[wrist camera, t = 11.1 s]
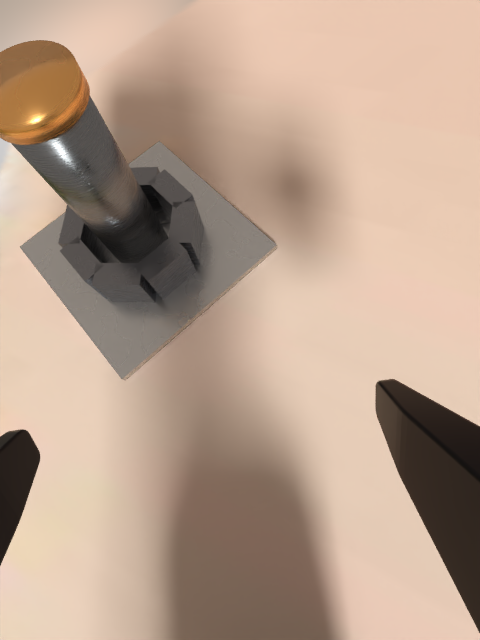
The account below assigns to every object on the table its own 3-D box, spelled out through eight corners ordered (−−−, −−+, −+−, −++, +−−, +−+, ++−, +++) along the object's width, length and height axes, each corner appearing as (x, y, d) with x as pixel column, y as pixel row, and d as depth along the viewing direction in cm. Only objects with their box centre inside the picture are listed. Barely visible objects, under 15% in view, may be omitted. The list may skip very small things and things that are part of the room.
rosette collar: (125, 380, 24) (100, 370, 20) (24, 250, 28) (-10, 224, 25) (276, 248, 26) (276, 220, 22) (161, 145, 30) (146, 109, 27)
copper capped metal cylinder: (137, 285, 25) (3, 143, 13) (102, 247, 27) (-49, 85, 14) (183, 245, 26) (98, 74, 14) (147, 210, 27) (40, 25, 15)
